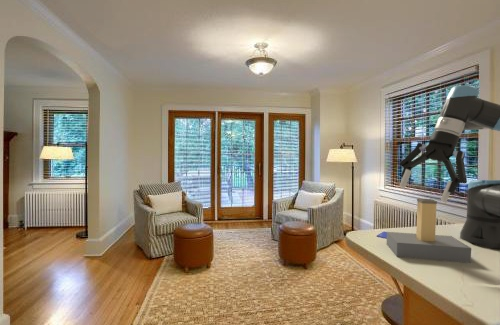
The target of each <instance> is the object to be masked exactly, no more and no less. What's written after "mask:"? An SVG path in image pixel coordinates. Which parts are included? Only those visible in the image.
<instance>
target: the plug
mask: <svg viewBox="0 0 500 325" xmlns="http://www.w3.org/2000/svg"><path fill="white" fill-rule="evenodd" d="M416 203H417V204H416V205H417V208H416V233H415V234H416V238H417V239H419V240H420V241H430V242H435V235H436V228H437V227H436V226H437V224H436V223H437V221H436V220H437V205H438V201H437V200H434V199H431V198H416Z"/></svg>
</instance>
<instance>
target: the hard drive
mask: <svg viewBox="0 0 500 325" xmlns="http://www.w3.org/2000/svg"><path fill="white" fill-rule="evenodd" d="M387 232H388V231H382V232H380V233H378V234H377V235H376V237H378V238H382V239H386V240H387Z"/></svg>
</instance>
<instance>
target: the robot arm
mask: <svg viewBox="0 0 500 325" xmlns="http://www.w3.org/2000/svg"><path fill="white" fill-rule="evenodd" d="M476 130H491V131H497V132H500V104H498V103H494V102H491V101H488V100H485V99H482V98H479V90H478V89H477V88H476V87H474V86H471V85H464V84H462V85H455V86H453V87H451V89H450V91H449V92H448V94H447V96H446V98H445V101H444V104H443V106H442V109H441V111H440V114H439V117H438V118H437V122H436V123H435V126H434V131H432V132H431V133H432V134H431V135H430V138H429V140H428V143H427V145H426V144H423V143H421V142H418V143H417V144H416V146H415V148H414V149H413V150H412V151H411V152H410V153H409V154H408V155H407V156H406V157H404V158H403V159H402V160H401V161H400V162H399V166H400V167H402V168H403V170H402V172H401V174H400V178H401V181H400V183H399V185H398V187H399V188H402V189H406V187H407V184H408V183H409V182H408V181H409V179H410V176H411V174H412V169H413V168H415V167H417V166H418V165H420V164H423V162H425V161H428V160H431V161H437V162H439V163H443V164H444V167H445V169H446V171H447V173H448V175H449V177H450V180H448V181H447V182H446V186H445V187H444V190H443V193H442V195H441V198H440V202H443V203H448V200H449V197H450V196H451V195H450V194H454V193H455V191H456V190H457V187H458V185H459V184H465V185H466V184H467V183H468V185H467V190H466V191H467V196H466V197H467V198H466V200H467V202H466V220H465V221H464V223H463V226H462V228H461V230H460V233H459V239H460V240H463V241H465V242H467V243H469V244H471V245H473V246H478V247H482V248H487V249H488V248H489V249H495V250H496V249H497V250H500V179H477V180H476V179H475V180H474V179H473V180H470V181H469V182H468V180H467V179H468V178H467V174H466V168H465V161H464V160H465V155H466V153H465V152H464V151H462V150H458V151H457V150H456V149H455V148H456V147H457V145H458V142H459V141H460V137H461V135H462V133H463V131H476ZM459 136H460V137H459ZM423 151H425V152H423ZM422 152H423V153H422ZM420 154H421V155H420ZM416 157H417V158H416ZM451 157H454V158H455V161H456V168H457V172H456V170H455V169H454V167H453V164H452V160H451V159H450V158H451ZM457 173H458V175H457Z"/></svg>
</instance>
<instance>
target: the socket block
mask: <svg viewBox="0 0 500 325" xmlns="http://www.w3.org/2000/svg"><path fill="white" fill-rule="evenodd" d="M386 232H387V239H386V245H387V247H388V248H389V249H390V250H391V252H392V253H393V255H394V256H396V258H406V259H418V260H419V259H420V260H427V261H428V260H431V261H440V262H443V261H444V262H453V263H454V262H456V263H467V264H471V261H472V247H470V246H468V245H467V244H465V243H464V242H462V241H460V240H459V239H457V238H455V237H454V236H452V235H441V234H439V235H438V234H435V242H430V241H420V240H419V239H417V238H416V233H413V232H412V233H409V232H395V231H386Z"/></svg>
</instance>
